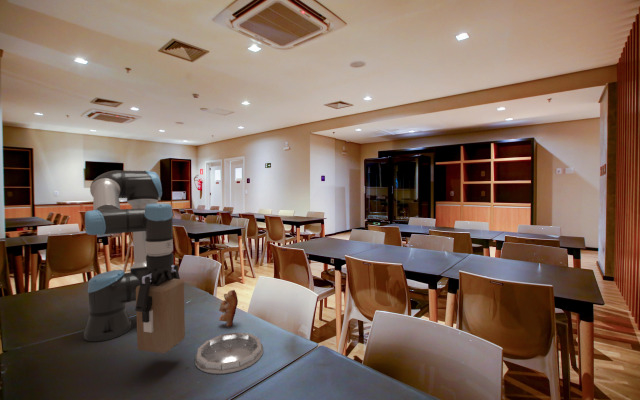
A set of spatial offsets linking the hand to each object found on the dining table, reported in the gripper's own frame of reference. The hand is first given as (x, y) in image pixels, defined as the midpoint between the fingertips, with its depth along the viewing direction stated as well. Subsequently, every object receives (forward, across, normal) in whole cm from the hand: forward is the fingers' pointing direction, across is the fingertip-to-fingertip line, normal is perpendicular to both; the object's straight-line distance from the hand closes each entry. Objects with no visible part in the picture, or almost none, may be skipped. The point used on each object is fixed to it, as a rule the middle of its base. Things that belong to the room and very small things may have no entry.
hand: (161, 323), depth 95 cm
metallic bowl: (+14, +10, -18) cm, 25 cm away
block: (+7, 0, 0) cm, 7 cm away
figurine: (+14, +30, -7) cm, 33 cm away
